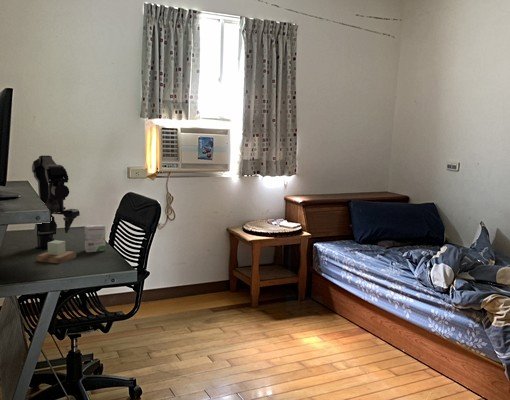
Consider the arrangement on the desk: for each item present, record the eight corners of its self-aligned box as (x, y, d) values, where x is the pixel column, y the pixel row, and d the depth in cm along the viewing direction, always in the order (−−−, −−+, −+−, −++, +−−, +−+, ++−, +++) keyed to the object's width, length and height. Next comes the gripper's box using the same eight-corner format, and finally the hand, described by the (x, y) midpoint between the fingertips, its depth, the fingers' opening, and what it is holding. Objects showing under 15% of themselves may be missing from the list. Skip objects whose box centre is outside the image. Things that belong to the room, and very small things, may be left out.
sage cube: (47, 254, 207) (47, 242, 206) (55, 251, 212) (54, 240, 211) (58, 255, 206) (58, 243, 205) (65, 252, 211) (65, 241, 210)
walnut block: (37, 262, 205) (37, 255, 205) (54, 256, 216) (54, 249, 215) (60, 264, 203) (60, 257, 202) (76, 258, 213) (76, 251, 213)
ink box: (103, 248, 230) (103, 224, 228) (105, 251, 225) (105, 226, 224) (84, 250, 225) (84, 225, 224) (86, 252, 221) (86, 227, 219)
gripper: (23, 196, 200) (24, 233, 202) (63, 199, 196) (64, 237, 198) (41, 193, 211) (42, 229, 213) (80, 196, 207) (80, 232, 209)
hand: (56, 232), depth 208 cm, fingers open, 9 cm apart
